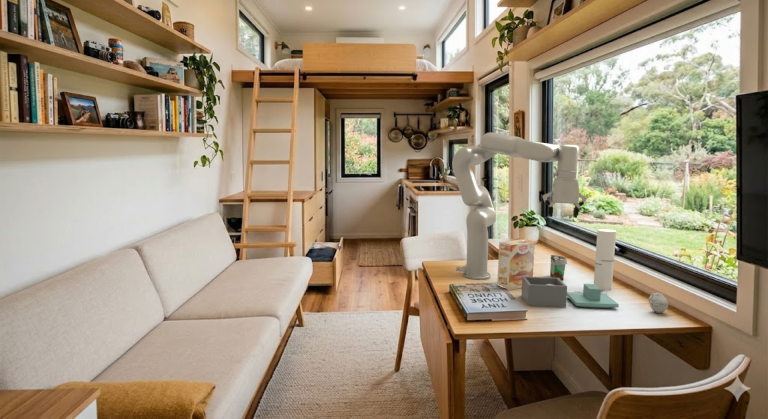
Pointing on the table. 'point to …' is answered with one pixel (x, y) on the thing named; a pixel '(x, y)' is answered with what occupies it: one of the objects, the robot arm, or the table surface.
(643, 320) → the table surface
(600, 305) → the lid
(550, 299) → the storage box
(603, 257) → the cylindrical container
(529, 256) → the coffeecake box
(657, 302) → the grey rock
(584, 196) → the robot arm
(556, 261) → the food container
